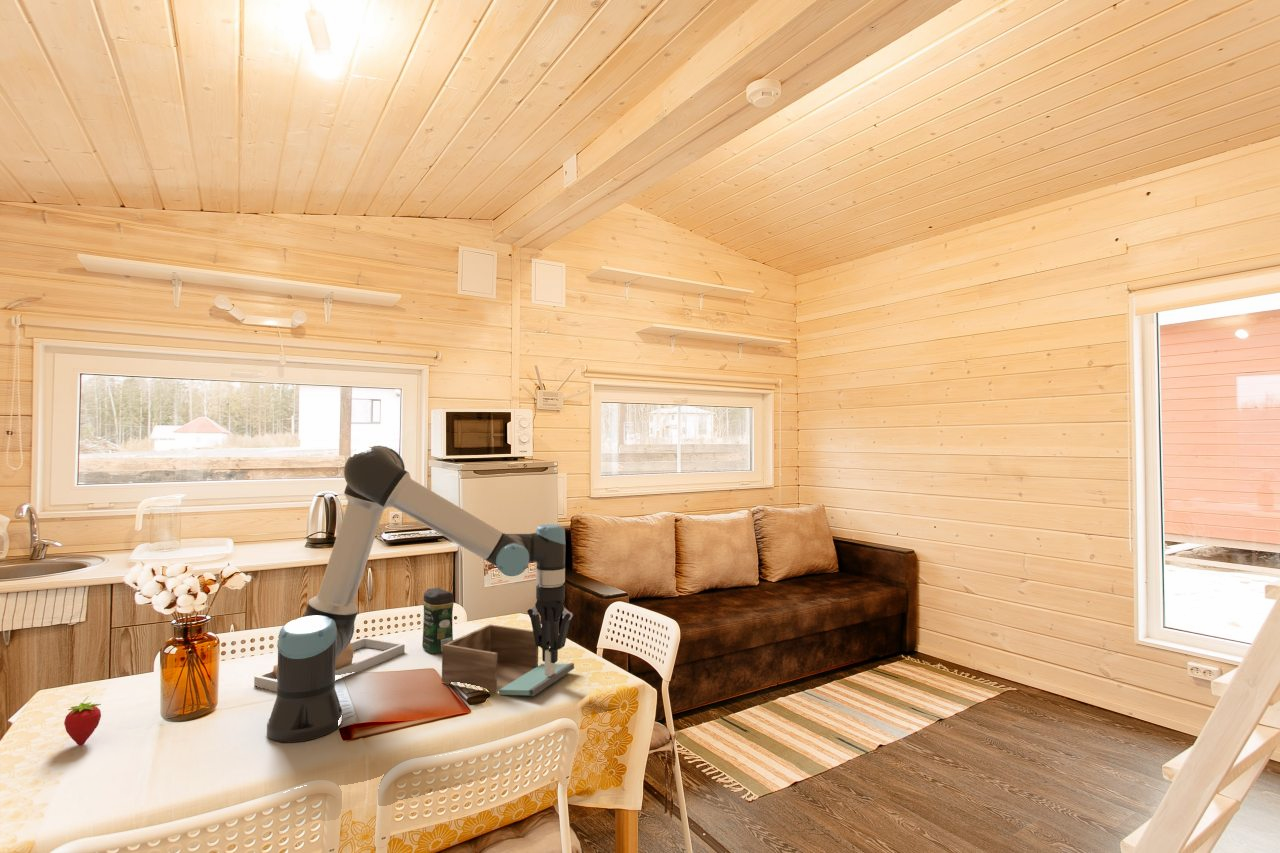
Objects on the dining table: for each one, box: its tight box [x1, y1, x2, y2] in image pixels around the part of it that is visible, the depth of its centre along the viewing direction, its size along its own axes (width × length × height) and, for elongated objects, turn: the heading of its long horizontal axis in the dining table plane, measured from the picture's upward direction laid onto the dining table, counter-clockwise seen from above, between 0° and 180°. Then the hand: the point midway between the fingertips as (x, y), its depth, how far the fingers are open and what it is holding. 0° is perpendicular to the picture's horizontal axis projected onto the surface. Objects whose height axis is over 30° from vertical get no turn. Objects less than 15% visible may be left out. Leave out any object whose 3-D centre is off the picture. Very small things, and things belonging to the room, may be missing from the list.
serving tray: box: [253, 637, 406, 693], centre depth 183 cm, size 37×16×2 cm, turn 158°
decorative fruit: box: [63, 695, 102, 746], centre depth 136 cm, size 6×8×10 cm
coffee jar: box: [422, 587, 455, 654], centre depth 200 cm, size 10×8×19 cm
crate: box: [441, 624, 539, 695], centre depth 177 cm, size 21×16×11 cm
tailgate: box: [498, 662, 575, 697], centre depth 171 cm, size 21×1×10 cm
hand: (549, 674), depth 170 cm, fingers closed
